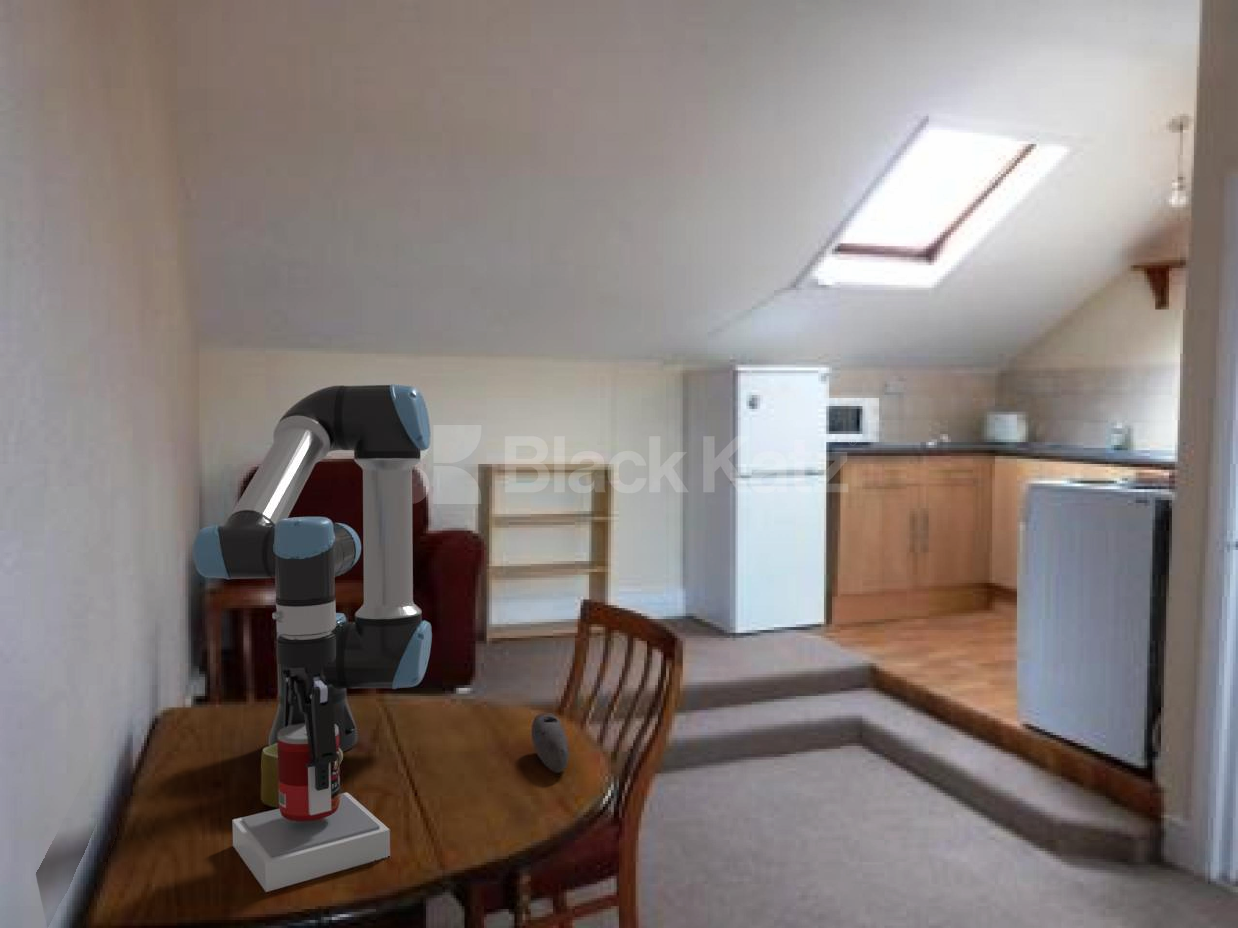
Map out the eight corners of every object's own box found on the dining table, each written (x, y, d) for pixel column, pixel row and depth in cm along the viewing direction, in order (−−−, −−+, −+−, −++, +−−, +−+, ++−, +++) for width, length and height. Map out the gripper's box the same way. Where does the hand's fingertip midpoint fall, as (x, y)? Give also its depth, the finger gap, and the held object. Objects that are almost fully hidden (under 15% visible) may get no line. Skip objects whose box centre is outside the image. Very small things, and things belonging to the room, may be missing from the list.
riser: (233, 845, 127) (232, 816, 127) (347, 816, 137) (347, 789, 136) (265, 891, 114) (265, 859, 114) (390, 856, 124) (389, 826, 124)
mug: (256, 809, 134) (267, 737, 138) (249, 807, 143) (260, 740, 147) (342, 811, 139) (351, 742, 143) (331, 809, 148) (339, 744, 151)
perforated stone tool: (575, 778, 151) (574, 736, 151) (543, 781, 150) (542, 739, 149) (559, 748, 166) (559, 709, 165) (530, 750, 164) (529, 711, 164)
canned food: (322, 824, 121) (320, 740, 120) (266, 819, 122) (264, 737, 122) (351, 801, 128) (349, 722, 128) (298, 797, 130) (296, 719, 129)
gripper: (255, 624, 131) (259, 784, 131) (302, 651, 114) (305, 835, 115) (309, 617, 135) (312, 772, 136) (361, 643, 118) (365, 820, 119)
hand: (309, 801), depth 125 cm, fingers closed on canned food, 8 cm apart
